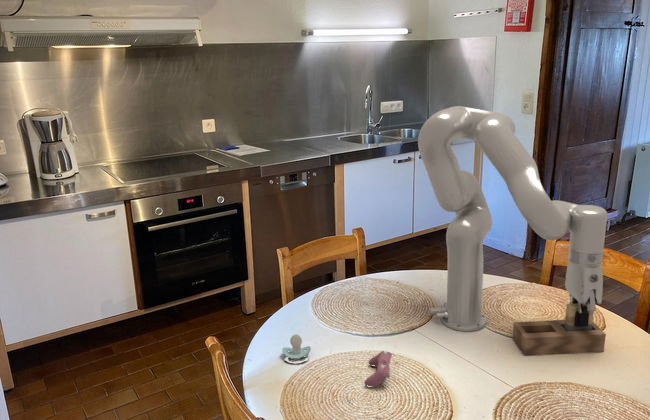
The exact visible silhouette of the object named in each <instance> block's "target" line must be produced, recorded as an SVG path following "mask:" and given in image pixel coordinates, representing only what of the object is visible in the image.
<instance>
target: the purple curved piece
mask: <svg viewBox="0 0 650 420" xmlns="http://www.w3.org/2000/svg"><path fill="white" fill-rule="evenodd" d="M392 356H393V353H391V352H390V351H387V350H386V351H385V350H382V351H380V352H378V354H376V355H375V356H372V357H371V358H370V359H369V361H368V365H369V364H370V365H375V366H377V367H376V370H375V372H374V373H373V374H371V375H370V376H368V377H366V379H365V380H364V385H368V386H375V387H377V386H378V385H380V384H382V383H383V382H385V381H386V380H387V379H389V378H390V377H391V373H390V369H391V368H390V365H391V360H392ZM370 365H369V366H370Z"/></svg>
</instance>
